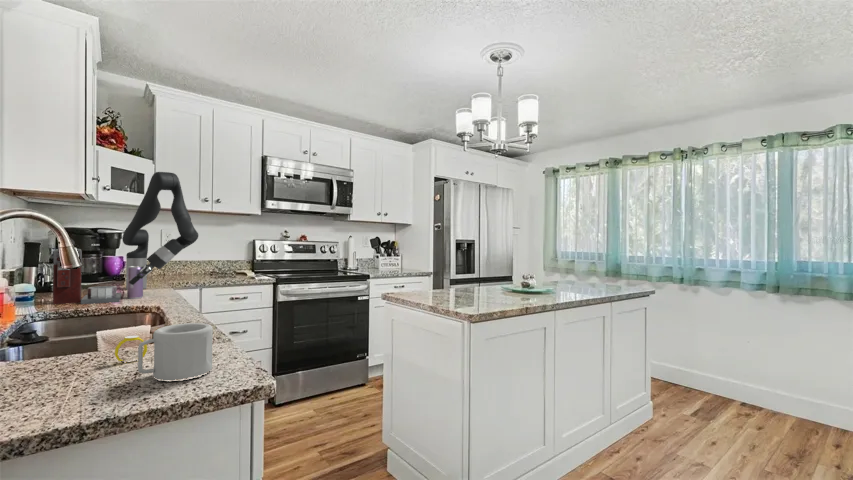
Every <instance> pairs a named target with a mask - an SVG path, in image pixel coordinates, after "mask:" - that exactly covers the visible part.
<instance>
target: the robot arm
mask: <svg viewBox="0 0 853 480" xmlns="http://www.w3.org/2000/svg"><path fill="white" fill-rule="evenodd" d="M161 191H170V192H171V193H172V196H173V199H172V203H171V205H170V206H171V207H170V213H171V214H172V217H173V219H174V222H175V224H176V227H177V230H178V233H179V236H178V237H177V238H172V239H170V240H168V241H167V242H166V243H164V244H163V245H162V246H161V247H159V248H158V249H157V250H156V251H154V252H152V254H151V255H149V256H148V253H149V252H148V251H149V238H150V235H149V232H148V230H147V229H144V228H143V227H145V226H147V225H149V224H151V223H152V222H154V221H155V220H156V218H157V217H158V215H159V214H160V212H161V208H162V206H161V203H160V200H159V197H158V196H159V194H160V192H161ZM184 199H185V197H184V195H183V189H182V185H181V182H180V179H179V177H178V174H176V173H174V172H169V171H168V172H167V171H156V172H154V173H153V174H152V175H151V177H150V181H149V183H148V187H147V190H146V192H145V193H144V196H143V198H142V200H141V202H140V203H139V205H138V208H137V210H136V212H135V214H134V216H133V218H132V220H131V221H130V223H129V224H128V226H127V227H126V229H125V230H124V231H123V235H122V243H123V244H124V245H125V246H131V247H133V246H134V247H135V246H137V248H136V249H134V250H132V251H129V252H127V253H126V255H125V256H126V261H125V262H126V267H125V268H126V269H125V270H126V273H125V275H126V276H125V280H126V281H125V282H126V283H125V284H126V285H125V290H127V278H128V267H129V266H143V268H142V269H141V270H140V271H139V273H138V274H137V275H136V276H135V277H134V278H133V279H132V280H130V281H129V283H130V284H131V285H134V284H135V283H136V282H137V281H138V280H140V279H142V278H143V290H145V289H147V285H148V284H147V281H148V279H147V278H148V274H150V273H152V272H153V269H154V268H156V269H158V270H161V269H162V268H163V267H164V266H166V265H167V264H168V263H170V261H172V260H173V258H175V256H177V255H178V254H179V253H181V251H182V250H184V249H186V248H188V247H189V246H192V244H194V243H196V241H197V240H198V239H199V232H198V231H197V230H196V228H195V227H194V225H193V221H192V218H191V215H190V213H189V211H188V208H187V205H186V203H185V200H184ZM148 262H149V264H148ZM140 274H142V275H143V276H142V275H140Z"/></svg>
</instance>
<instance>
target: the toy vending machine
mask: <svg viewBox="0 0 853 480" xmlns="http://www.w3.org/2000/svg"><path fill="white" fill-rule="evenodd" d="M70 239H71V241H72V243H73V245H74V246H75V241H74V239H72V238H70ZM58 249H59V248H56V249H54V250H53V271H52V272H53V276H52V277H53V278H52V279H53V282H52V283H53V284H52V286H53V287H52V294H53V295H52V305H53V304H56V305H67V304H66V303H69V304H81V299H82V266H81V267H80V268H77V269H62V268H61V266H60V260H59V253H58ZM76 249H77V251H78V253H79V256H80V259H81V263H82V257H83V255H82V252H83V251H82V249H81V248H76Z"/></svg>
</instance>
